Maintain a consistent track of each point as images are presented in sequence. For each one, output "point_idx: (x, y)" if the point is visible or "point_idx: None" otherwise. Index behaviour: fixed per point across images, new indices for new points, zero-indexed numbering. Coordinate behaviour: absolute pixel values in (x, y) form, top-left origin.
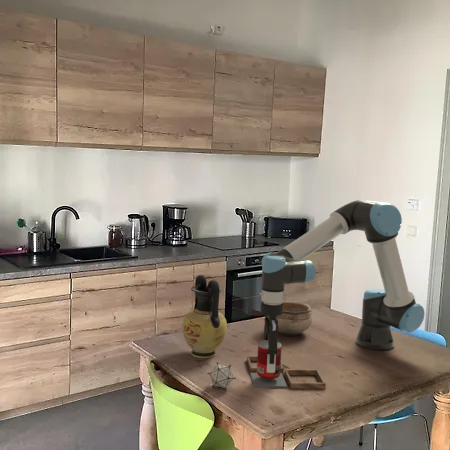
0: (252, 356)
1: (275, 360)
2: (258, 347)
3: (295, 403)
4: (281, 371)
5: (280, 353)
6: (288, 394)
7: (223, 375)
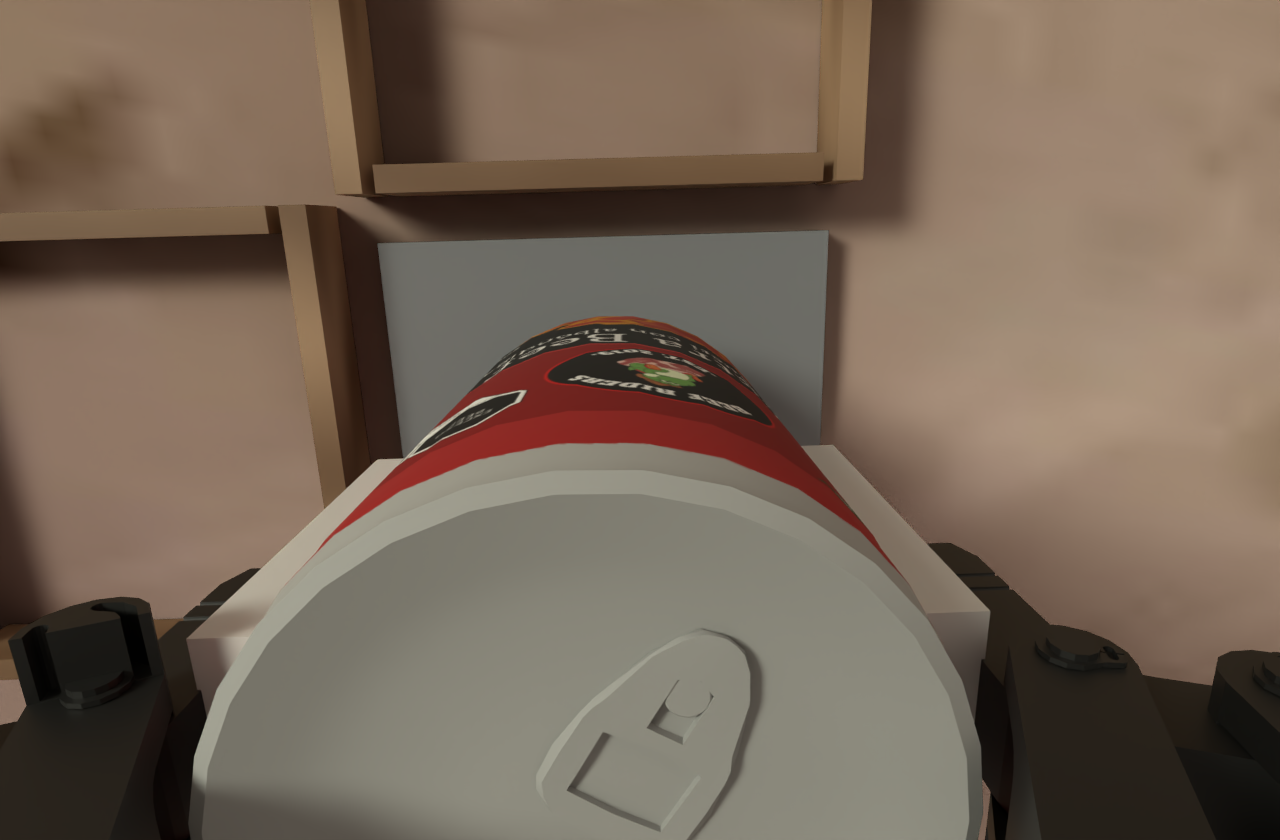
0: None
1: (915, 532)
2: None
3: (1273, 192)
4: (328, 238)
5: (769, 434)
6: (1017, 241)
7: None
